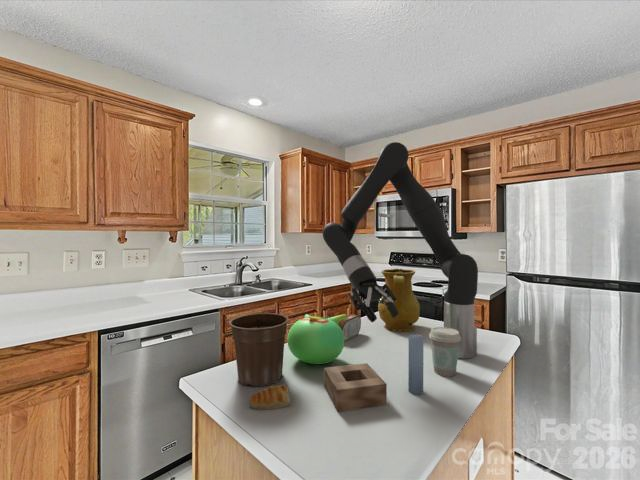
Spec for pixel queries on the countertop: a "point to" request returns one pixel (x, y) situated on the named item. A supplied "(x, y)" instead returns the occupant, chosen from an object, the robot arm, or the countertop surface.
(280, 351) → the plant pot
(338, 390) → the socket block
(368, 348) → the countertop surface
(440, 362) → the coffee cup
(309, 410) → the countertop surface
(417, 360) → the dowel
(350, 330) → the tin
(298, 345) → the green round piece
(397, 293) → the pitcher
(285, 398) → the pastry
